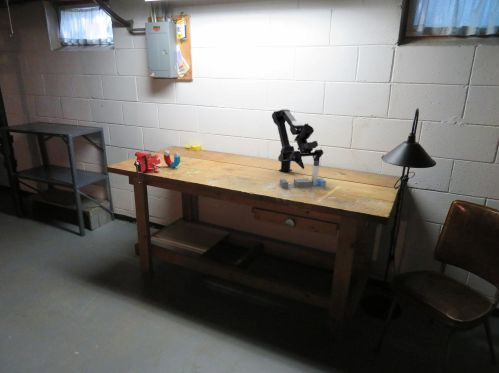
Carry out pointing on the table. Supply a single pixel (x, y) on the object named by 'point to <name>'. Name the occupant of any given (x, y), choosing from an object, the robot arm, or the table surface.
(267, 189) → the table surface
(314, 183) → the dark-capped white cylinder
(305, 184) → the gray notched block
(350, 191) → the table surface
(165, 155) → the magnet
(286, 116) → the robot arm
